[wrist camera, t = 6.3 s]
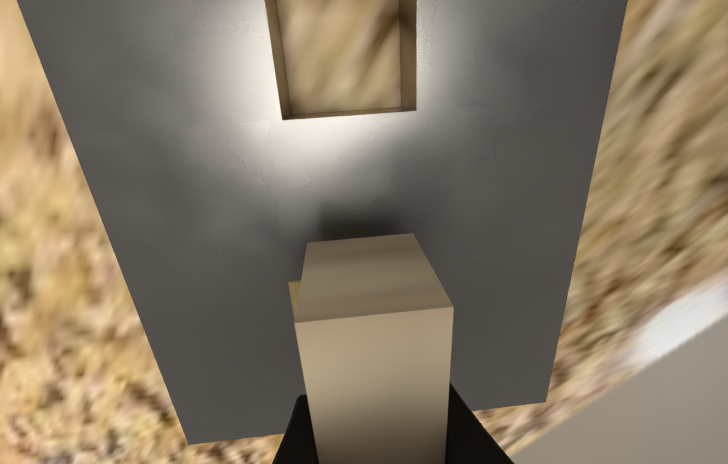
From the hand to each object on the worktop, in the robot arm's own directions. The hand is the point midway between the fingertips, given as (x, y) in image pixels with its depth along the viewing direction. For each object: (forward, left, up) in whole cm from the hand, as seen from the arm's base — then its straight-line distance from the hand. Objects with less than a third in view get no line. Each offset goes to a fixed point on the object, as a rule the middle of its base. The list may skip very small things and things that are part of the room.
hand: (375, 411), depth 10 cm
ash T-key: (0, 0, -4) cm, 4 cm away
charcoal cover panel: (0, -5, -6) cm, 8 cm away
